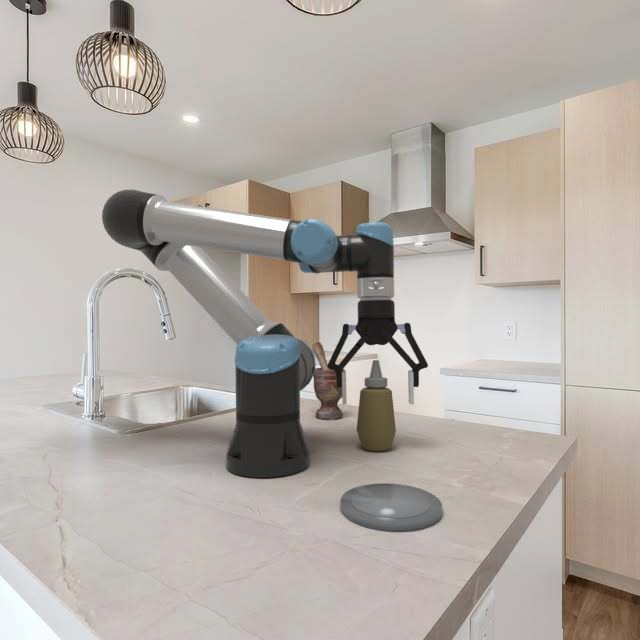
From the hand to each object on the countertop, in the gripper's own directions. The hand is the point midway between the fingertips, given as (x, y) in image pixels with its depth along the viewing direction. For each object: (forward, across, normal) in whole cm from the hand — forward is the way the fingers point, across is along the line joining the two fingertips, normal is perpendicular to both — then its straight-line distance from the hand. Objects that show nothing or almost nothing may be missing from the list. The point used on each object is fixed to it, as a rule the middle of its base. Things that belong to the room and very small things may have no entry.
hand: (377, 403), depth 94 cm
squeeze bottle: (+9, 0, 0) cm, 9 cm away
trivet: (+9, +1, -30) cm, 31 cm away
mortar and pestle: (+9, -13, +30) cm, 34 cm away
